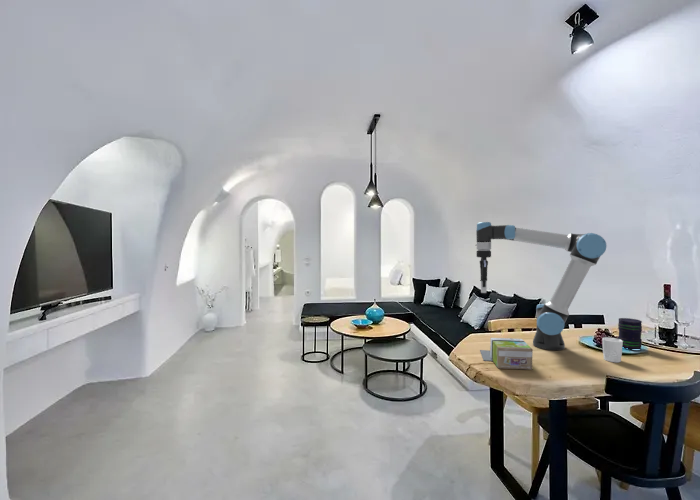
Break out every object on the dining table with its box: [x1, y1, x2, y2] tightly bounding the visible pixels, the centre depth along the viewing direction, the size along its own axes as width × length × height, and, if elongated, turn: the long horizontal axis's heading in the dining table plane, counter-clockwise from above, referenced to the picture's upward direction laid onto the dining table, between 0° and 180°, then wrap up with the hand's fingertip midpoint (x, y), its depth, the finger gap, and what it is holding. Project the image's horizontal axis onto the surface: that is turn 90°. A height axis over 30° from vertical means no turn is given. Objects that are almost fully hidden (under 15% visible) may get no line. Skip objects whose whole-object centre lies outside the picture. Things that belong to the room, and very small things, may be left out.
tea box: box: [489, 337, 534, 371], centre depth 162 cm, size 15×10×15 cm
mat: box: [479, 349, 494, 362], centre depth 172 cm, size 20×16×1 cm
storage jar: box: [617, 317, 643, 350], centre depth 185 cm, size 10×10×15 cm
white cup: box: [601, 336, 623, 363], centre depth 166 cm, size 8×8×10 cm
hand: (483, 292), depth 191 cm, fingers closed
